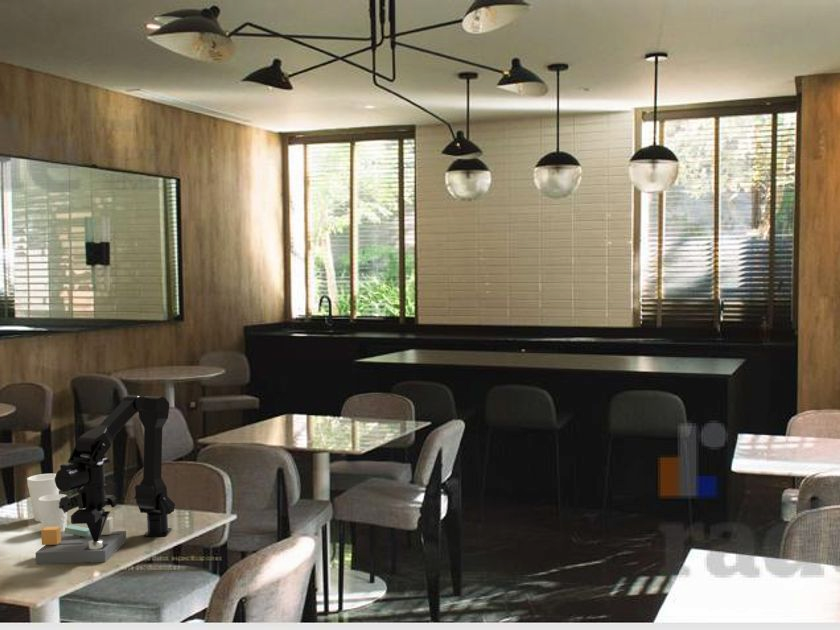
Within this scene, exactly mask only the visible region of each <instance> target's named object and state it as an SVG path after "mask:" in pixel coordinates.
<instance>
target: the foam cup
mask: <svg viewBox="0 0 840 630" xmlns="http://www.w3.org/2000/svg"><path fill="white" fill-rule="evenodd" d="M56 474H57V473H42V474H35V475H31V476H29V477H27V478H26V480H27V488H28V492H29V498H30V503H31V507H32V514H33V518H34V521H36V522H41V521H40V512H39V501H38V499H39V498H40V497H42V496H46V495H53V494H60V490H59V489H58V488H57V486H56V484H55V477H56Z"/></svg>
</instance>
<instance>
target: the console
mask: <svg viewBox="0 0 840 630" xmlns="http://www.w3.org/2000/svg"><path fill="white" fill-rule="evenodd" d="M99 539H102V540H103V550H89V541H91V540H93V539H92V536H91V533H90V534H89V535H88V536H86V537H84V536H79V535H73V534H68V533H64V532H61V542H59V543H58V544H56V545H43V546H42V547H41V548H39V550H37V551H36V552H35V564H36V565H46V564H48V565H49V564H50V565H52V564H53V565H55V564H83V563H85V564H87V563H86V562H90V563H106V562H107V561H108V560H109V559H110V558H111V557H112V556H113V555H114V554H115V553H117V551H119V549H120V548H121V547H122V546H123V545H124V544H126V543H127V531H126V530H113V532H112V533H111V534H110V535H100V538H99ZM121 545H122V546H121ZM120 546H121V547H120ZM119 547H120V548H119ZM118 548H119V549H118ZM116 550H117V551H116ZM113 553H114V554H113Z"/></svg>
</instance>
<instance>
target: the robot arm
mask: <svg viewBox="0 0 840 630" xmlns="http://www.w3.org/2000/svg"><path fill="white" fill-rule="evenodd" d="M137 413H138V419H139V420H140V422H141V424H142V426H143V430H144V431H143V432H144V433H143V434H144V435H143V468H142V469H143V470H142V471H143V473H142V475H143V476H142V479H141V481H140V483H139V484H135V496H134V500H135V502H136V505H137V506H138V509H139V511H140V512H139V513H141V514H146V523H147V525H146V527H147V531H145V532H144V534H143V536H144V537H164V536H165V537H166V536H168V535H169V534H170V533H171V532H172V530H173V529H172V527H169V521H168V519H169V518H168V515H171V514H172V513H174V512H175V507H176V503H175V502H174V501H173V500H172V499H171V498H170V497H169V496H168V491H167V489H168V488H167V485H166V484H165V481H164V480H163V478H162V463H163V462H162V459H163V458H162V457H163V455H162V454H163V453H162V452H163V428H164V425H165V424H166V422H167V420H168V419H169V413H170V402H169V400H168V399H167V398H166V397H164V396H153V395H152V396H151V395H145V396H140V395H127V396H124V397H123V398H122V401H121V403H119V404H118V405H117V406H116V407H115V408H114V410H113V411H111V413H110V414H108V416H107V417H106V418H105V419H104V420H103V421H102V422H101V423H100V424H99V425H97V426H96V427H94V428H92V429H90V430H87V431H85V433H83V434H82V435H80V436H79V437H78V438H77V440H76V442H75V445H74V447H73V450H72V453H71V454H70V456H69V458H68V461H67V463H62V464H60V466H59V468H60V469H59V470H58V471H57V472H56V473H55V474H56V477H55V484H56V486H57V488H58V489H59V492H63V493H65V492H69V491H72V490H75V489H78V488H79V489H78V491H77V492H76V493H75V494H72V495H67V494H66V495H67V496H65V497H62V498H61V499H60V502H59V508H60V509H62V510H63V512H64V513H65V512H67V513H68V512H69V511H71V510H73V509H76V508H78V509H77V510H75V512H73V513H72V514H71V515H70V525H85V524H86V525H87V528H89V531H90V533H91V536H92V539H93V541H94V542H96V541H98V540H99V538H100V535H101V533H102V530H103V527H104V525H105V523H106V520H107V518H108V517H109V515H110V513H111V512H110V511H106V510H105V507H106V506H110V507H111V508H115V507H116V506H117V505H118V503H117V501H118V500H117V497H116V495H113V494H106V490H107V489H108V483H105V481H106V480H105V479H106V478H105V465H106V464H109V463H111V460H110V459H109V458H108V457H106V456H105V455H106V454H107V452H108V451H109V450H110V448H111V447H112V445H113V439H114V437H115V436H116V435H117V434H118V432H120V431H121V429H122V428H124V426H126V424H127V423H128V422H129V421H130V420H131V419H132V418H133V417H134V416H135V414H137Z"/></svg>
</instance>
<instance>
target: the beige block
mask: <svg viewBox="0 0 840 630" xmlns="http://www.w3.org/2000/svg"><path fill="white" fill-rule="evenodd" d="M113 531H114V517H112V516H110V517H109V516H108V518H107V520H106V523H105V525H104V527H103V530H102V533H101V535H110V534H111V533H112V532H113Z"/></svg>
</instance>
